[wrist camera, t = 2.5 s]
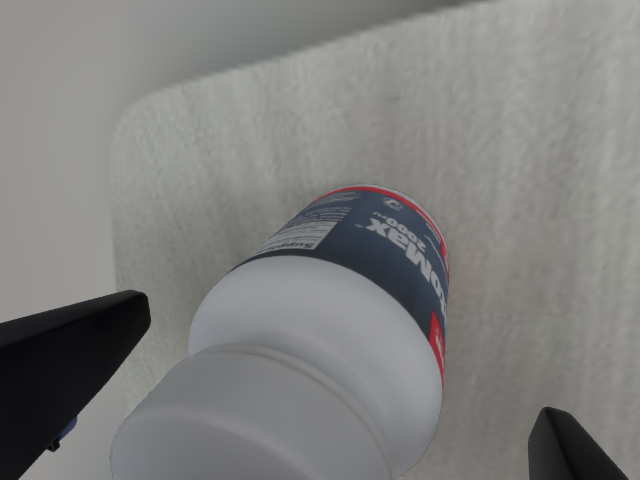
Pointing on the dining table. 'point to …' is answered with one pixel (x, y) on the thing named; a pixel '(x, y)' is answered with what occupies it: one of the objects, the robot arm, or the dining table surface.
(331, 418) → the pill bottle
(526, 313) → the dining table surface
